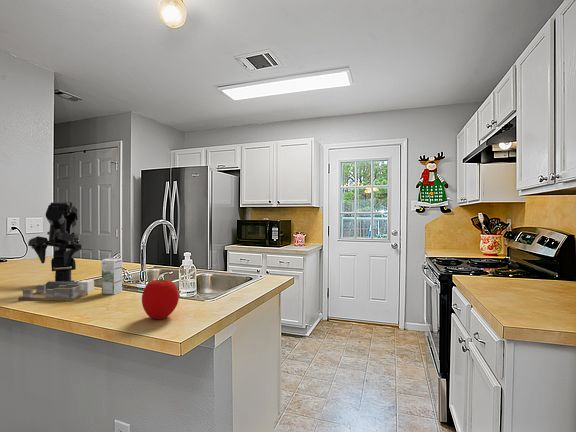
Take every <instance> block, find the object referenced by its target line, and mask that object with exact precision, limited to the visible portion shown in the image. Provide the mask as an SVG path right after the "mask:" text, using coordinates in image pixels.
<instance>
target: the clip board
mask: <svg viewBox="0 0 576 432" xmlns="http://www.w3.org/2000/svg"><path fill="white" fill-rule="evenodd" d="M35 287H36V288H35V289H36V292H34V291H33V290H34V289H33V288H23V289H22V296H19V297H18V301H40V300H65V301H64V302H75V301H77V300H79V299H81V298H83V297H86V296H88V295H89V292H88V293H87V292H85V284H67V285H59V286H58V288H54V289H47V290H46V284H37V285H36V286H35Z"/></svg>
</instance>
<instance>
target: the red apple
mask: <svg viewBox="0 0 576 432" xmlns="http://www.w3.org/2000/svg"><path fill="white" fill-rule="evenodd" d="M179 294H180V293H179V289H178V287H177V285H176V284H175V282H174V281H172V280H171V279H163V278H160V279H154V280H151V281H149V282H148V283H147V284H146V285H145V287H144V289H143V291H142V295H141V305H142V308H143V310H144V312H145V313H146V315H147V316H148V317H149V318H152V319H154V320H162V319H166V318H168V317H169V316H170V315H171V314H173V312H174V311H175V309H176V307H177V305H178V303H179V297H180V296H179Z"/></svg>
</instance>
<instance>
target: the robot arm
mask: <svg viewBox="0 0 576 432" xmlns="http://www.w3.org/2000/svg"><path fill="white" fill-rule="evenodd" d="M73 203H74V202H71V201H61V202H60V201H59V202H50V203H49V205H48V207H47V209H46V212H45V213H44V214H45V215H44V216H45V218H46V220H47V221H48V224H49V231H48V232H47V233H46V235H48V237H44V236H40V235H39V236H35V237H33V238H30V239H29V240H28V242H27V243H28V244H27V245H28V247H31V249H32V250H34V251H35V253H36V255H37V257H38V259H39V261H40V263H41V264H44V263H45V262H46V253H47V248H48V247H55V248H58V249H55V250H54V252H53V257H52V258H51V260H50V265H51V272H55V274H54V281H57V282H75V280H74V279H73V280H72V271H74V270H76V269H77V267H76V260H75V257H73V255H74V254H75V253H77V252H79V251H81V250H82V249H83V248H82V246H83V245H82V244H81V243H77V242H74V241H78V239H79V233H78V232H73V228H74V227H75V226H76V225H77V222H78V220H79V210H78V209H77V208H76V207H75V205H74V204H73Z"/></svg>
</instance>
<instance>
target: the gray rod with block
mask: <svg viewBox="0 0 576 432" xmlns="http://www.w3.org/2000/svg"><path fill="white" fill-rule="evenodd" d="M67 284H85V292H87V293H88V294H89V293H90V292H93V291H95V279H83V280H79V281H74V282H57V281H55V280H54V281H50V280H49V281H47V282H46V283H45V285H46V290H47V289H54V288H58V286H59V285H67Z"/></svg>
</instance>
